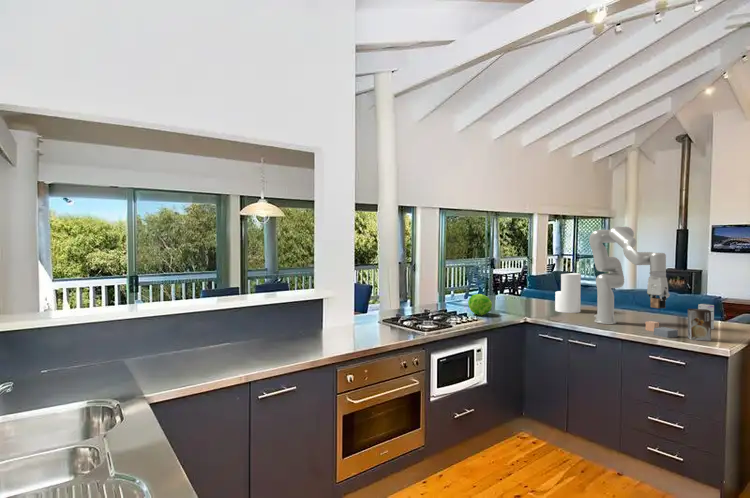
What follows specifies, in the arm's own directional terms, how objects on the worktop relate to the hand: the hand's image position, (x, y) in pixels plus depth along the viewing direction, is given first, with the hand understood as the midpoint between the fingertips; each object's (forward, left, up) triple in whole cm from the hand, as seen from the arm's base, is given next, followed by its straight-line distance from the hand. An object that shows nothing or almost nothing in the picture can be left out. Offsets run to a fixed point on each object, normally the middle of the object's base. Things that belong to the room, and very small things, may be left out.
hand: (658, 306), depth 249 cm
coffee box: (+14, +12, -16) cm, 25 cm away
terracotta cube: (-11, +7, -16) cm, 21 cm away
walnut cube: (0, 0, -1) cm, 1 cm away
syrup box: (-7, +42, -16) cm, 46 cm away
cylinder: (-83, +4, -16) cm, 85 cm away
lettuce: (-86, -66, -16) cm, 109 cm away
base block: (+2, +3, -16) cm, 17 cm away
